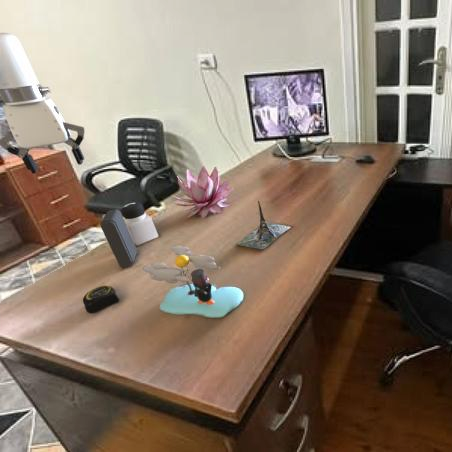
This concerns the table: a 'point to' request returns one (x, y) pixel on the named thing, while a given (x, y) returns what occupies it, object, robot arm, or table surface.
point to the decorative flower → (204, 192)
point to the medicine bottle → (139, 223)
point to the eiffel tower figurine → (263, 233)
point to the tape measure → (100, 299)
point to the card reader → (119, 238)
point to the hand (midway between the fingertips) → (58, 167)
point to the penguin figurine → (194, 287)
